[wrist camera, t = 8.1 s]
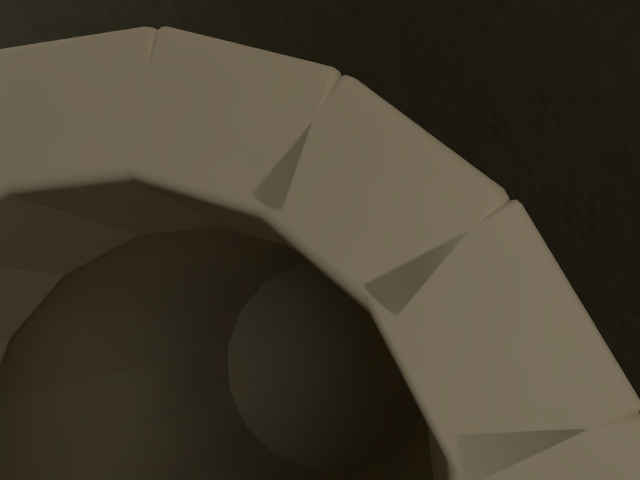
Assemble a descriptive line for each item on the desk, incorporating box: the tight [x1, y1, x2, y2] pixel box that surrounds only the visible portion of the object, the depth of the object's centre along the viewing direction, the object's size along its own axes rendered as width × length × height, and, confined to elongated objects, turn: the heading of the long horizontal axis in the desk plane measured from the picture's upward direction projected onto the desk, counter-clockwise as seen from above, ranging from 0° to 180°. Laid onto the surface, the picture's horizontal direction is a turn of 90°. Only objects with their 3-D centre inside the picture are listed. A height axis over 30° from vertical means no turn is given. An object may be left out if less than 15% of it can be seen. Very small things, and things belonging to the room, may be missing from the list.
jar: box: [0, 26, 640, 480], centre depth 9 cm, size 7×7×13 cm
